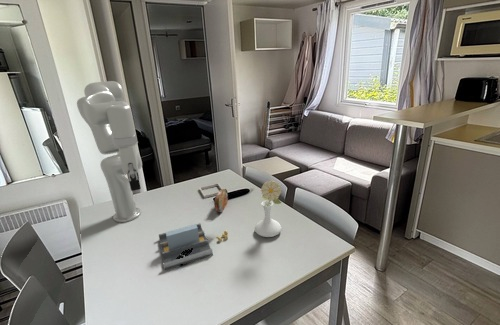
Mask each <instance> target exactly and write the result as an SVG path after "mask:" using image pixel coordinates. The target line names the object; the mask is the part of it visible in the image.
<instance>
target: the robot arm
mask: <svg viewBox="0 0 500 325" xmlns="http://www.w3.org/2000/svg"><path fill="white" fill-rule="evenodd" d="M83 92H84V96H83V97H80V98H79V99H77V100H76V105H77V110H78V112H79V114H80V116H81V117H82V119H83V120H84V121H85V123H86V124H87V125H88V127H89V128H90V131H91V133H92V136H93V138H94V141H95V142H94V143H95V145H96V147H97V149H98V151H99V153H100V154H101V155H105V156H106V155H110V156H107V157H105V158H103V159H102V160H101V161H100V169H101V171H102V174H103V176H104V178H105V181H106V183H107V186H108V187H107V188H108V189H109V190H108V191H109V193H110V197H111V200H112V205H113V208H114V215H113V216H112V217H113V221H114V222H115V223H126V222H131V221H133V220H135V219H136V218H138V217H139V216H140V215H141V212H142V211H141V209H140V208H138V207H137V205H136V201H135V197H134V193H133V192H134V191H139V190H141V183H140V177H139V170H141V169H142V167H143V161H142V158H141V155H140V152H139V150H138V146H137V145H138V143H139V141H138V137H137V132H136V127H135V122H134V118H133V117H134V116H133V113H132V109H131V106H130V105H129V104H128V103H127V102H126V101H124V96H125V95H124V94H125V92H124V90H123V87H122V85H121V84H120V83H119V82H117V81H115V80H105V81H97V82H91V83H88V84H87V85H86V86H85V87H84V90H83ZM116 153H119V154H116ZM112 154H116V155H112ZM127 174H128V178H127V177H126V175H127Z"/></svg>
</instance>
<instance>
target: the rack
mask: <svg viewBox="0 0 500 325" xmlns="http://www.w3.org/2000/svg"><path fill="white" fill-rule="evenodd" d="M195 224H196V225H197V228H198V234H199V241H200V242H197V243H193V244H190V245H186V246H183V247H180V248H176V249H173V250H169V246H168V241H167V236H166V232H163V233H159V234H158V239H159V244H160V251H161V256H162V257H161V258H162V263H163V268H164V271H167V270H170V269H173V268H177V267H180V266H181V265H180V264H183V265H186V264H190V263H193V262H196V261H199V260H202V259H205V258H208V257H211V256H213V255H214V254H213V248H211V246H210V244H209V239H207V237H206V235H205V230H203V228H202V224H201V223H199V222H198V223H195ZM191 248H193V250H192V252H191V253H190V254H189V255H188V256H186V257H183V258H180V259H176V258H177V257H178V256H179V255H180V254H181V253H182V252H183V251H185V250H188V249H191Z"/></svg>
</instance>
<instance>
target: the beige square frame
mask: <svg viewBox="0 0 500 325" xmlns="http://www.w3.org/2000/svg"><path fill="white" fill-rule="evenodd" d="M216 187H218V188H219V190H221V189H224V188H223V187H222V186H221V184H220V183H219V182H217V183H213V184H207V185H203V186H199V187H198V188H199V189H198V190H199V192H200V193H201V195H202V197H203V199H206V198H210V197H216V196H217V194H218V192H219V191H216V192H212V193H207V194H205V193H204V191H203V190H207V189H211V188H216Z"/></svg>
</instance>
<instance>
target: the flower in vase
mask: <svg viewBox="0 0 500 325" xmlns="http://www.w3.org/2000/svg"><path fill="white" fill-rule="evenodd" d="M260 192H261V195H260V197H261V198H262V199H263V201H262V202H261V203H260V205H261V206H262V207H263V211H264V217H263V219H261V220H260V221H258V222H257V223H256V224H255V227H254V231H255V233H256V234H257V235H258V236H260V237H263V238H265V237H266V238H272V237H275V236H277V235H279V234H280V233H281V231H282V225H281V224H280V222H278V221H277V220H275V219H273V218H271V208H272V207H273V205H274V204H275V205H280V204H282V201H281V200H280V199H279V197H280V195H281V194H282V188H281V185H280V184H279V183H278V182H276V181H274V180H272V179H271V180H270V181H269V180H268V181H266V182H263V185H262V186H261V189H260Z"/></svg>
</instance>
